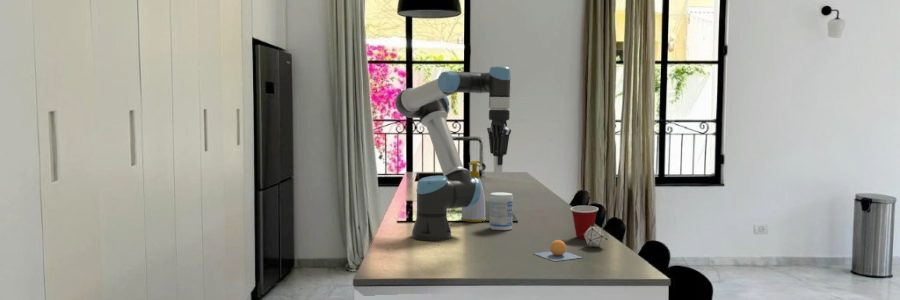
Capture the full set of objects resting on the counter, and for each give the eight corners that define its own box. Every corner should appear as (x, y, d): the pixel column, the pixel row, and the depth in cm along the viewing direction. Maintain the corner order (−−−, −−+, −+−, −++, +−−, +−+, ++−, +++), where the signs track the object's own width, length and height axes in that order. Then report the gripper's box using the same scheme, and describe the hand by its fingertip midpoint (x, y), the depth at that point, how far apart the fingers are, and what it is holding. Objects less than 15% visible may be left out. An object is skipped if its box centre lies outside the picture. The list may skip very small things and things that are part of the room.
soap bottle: (491, 219, 302) (492, 161, 300) (478, 223, 292) (479, 163, 290) (469, 217, 308) (470, 159, 306) (456, 220, 298) (456, 161, 296)
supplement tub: (512, 231, 277) (513, 195, 276) (489, 230, 277) (489, 195, 276) (511, 226, 286) (512, 192, 285) (489, 226, 287) (490, 191, 286)
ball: (548, 257, 235) (545, 242, 236) (561, 256, 237) (558, 240, 239) (557, 255, 230) (554, 239, 231) (570, 253, 232) (567, 238, 234)
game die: (594, 258, 247) (588, 239, 242) (580, 245, 254) (575, 227, 248) (614, 245, 249) (609, 226, 243) (600, 233, 256) (594, 214, 250)
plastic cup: (564, 237, 265) (564, 207, 264) (579, 233, 273) (579, 204, 272) (588, 242, 258) (589, 210, 257) (602, 238, 266) (603, 207, 265)
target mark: (533, 254, 237) (533, 253, 237) (561, 250, 242) (561, 250, 242) (553, 261, 226) (553, 260, 226) (582, 258, 232) (582, 257, 232)
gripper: (517, 109, 243) (516, 175, 245) (498, 109, 254) (497, 171, 256) (499, 109, 239) (498, 176, 241) (481, 108, 251) (480, 172, 253)
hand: (497, 173), depth 249 cm, fingers closed
